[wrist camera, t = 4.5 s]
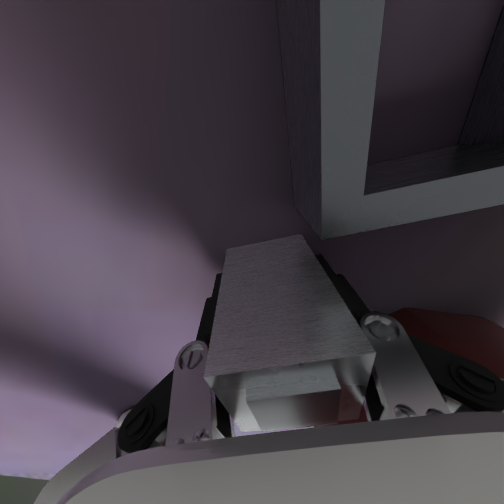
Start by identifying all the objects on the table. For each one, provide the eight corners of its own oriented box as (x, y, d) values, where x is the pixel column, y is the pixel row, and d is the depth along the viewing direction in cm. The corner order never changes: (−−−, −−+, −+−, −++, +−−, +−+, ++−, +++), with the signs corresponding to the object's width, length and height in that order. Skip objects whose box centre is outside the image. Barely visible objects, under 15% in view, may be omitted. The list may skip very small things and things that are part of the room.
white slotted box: (305, 289, 13) (363, 429, 6) (243, 300, 13) (242, 443, 7) (301, 233, 10) (384, 365, 4) (226, 248, 11) (201, 390, 5)
